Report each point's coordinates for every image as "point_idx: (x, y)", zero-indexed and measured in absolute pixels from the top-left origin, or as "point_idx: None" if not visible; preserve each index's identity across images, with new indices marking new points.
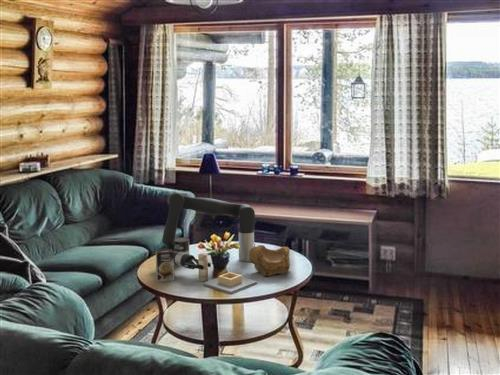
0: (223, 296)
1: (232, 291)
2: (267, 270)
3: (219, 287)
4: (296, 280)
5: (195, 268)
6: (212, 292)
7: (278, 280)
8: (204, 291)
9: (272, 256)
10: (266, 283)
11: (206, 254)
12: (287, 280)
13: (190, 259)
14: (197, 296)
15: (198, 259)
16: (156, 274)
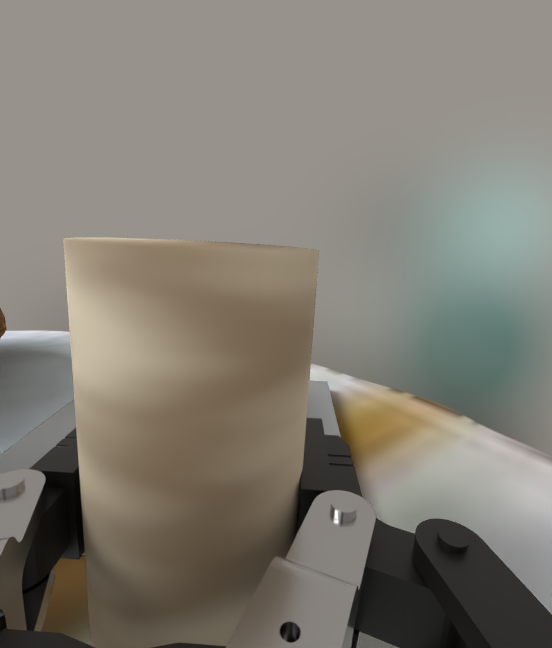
0: (381, 400)
1: (318, 382)
2: (5, 330)
3: (330, 426)
4: (28, 336)
5: (360, 630)
6: (400, 447)
7: (39, 356)
8: (444, 485)
9: None
10: None
11: (148, 239)
12: (33, 345)
13: None
14: (540, 470)
15: (298, 377)
16: None
